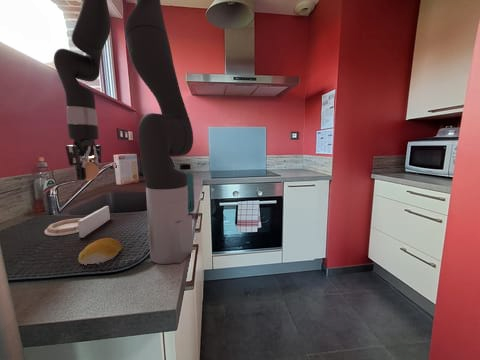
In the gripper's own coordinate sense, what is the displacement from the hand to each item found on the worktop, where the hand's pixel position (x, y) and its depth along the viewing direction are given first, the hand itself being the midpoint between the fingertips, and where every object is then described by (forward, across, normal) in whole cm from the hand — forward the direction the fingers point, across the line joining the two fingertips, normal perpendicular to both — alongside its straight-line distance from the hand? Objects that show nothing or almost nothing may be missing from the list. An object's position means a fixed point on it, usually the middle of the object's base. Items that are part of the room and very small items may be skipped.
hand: (88, 177), depth 68 cm
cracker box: (+18, -86, -24) cm, 91 cm away
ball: (-2, 0, 0) cm, 2 cm away
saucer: (+16, +1, -6) cm, 18 cm away
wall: (+16, +1, +2) cm, 16 cm away
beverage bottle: (+16, -10, +29) cm, 35 cm away
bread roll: (+16, +21, +13) cm, 29 cm away
